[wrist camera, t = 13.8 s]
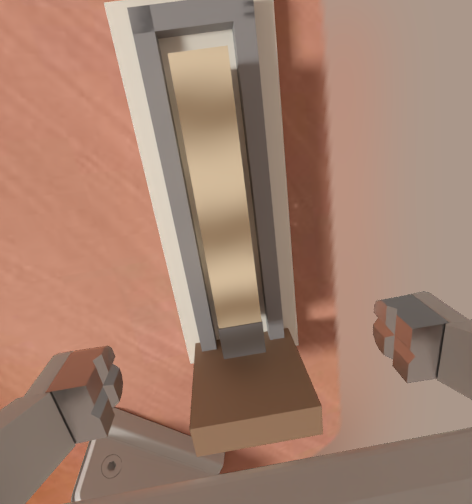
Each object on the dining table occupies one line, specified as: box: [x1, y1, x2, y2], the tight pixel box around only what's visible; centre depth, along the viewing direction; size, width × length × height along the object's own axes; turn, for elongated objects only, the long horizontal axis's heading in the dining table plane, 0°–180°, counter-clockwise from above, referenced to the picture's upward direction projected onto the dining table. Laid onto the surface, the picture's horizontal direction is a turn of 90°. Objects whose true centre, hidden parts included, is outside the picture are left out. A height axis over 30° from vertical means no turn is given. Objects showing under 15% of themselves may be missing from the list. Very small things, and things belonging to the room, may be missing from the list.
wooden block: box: [168, 45, 266, 359], centre depth 24 cm, size 22×4×6 cm, turn 8°
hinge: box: [71, 408, 225, 502], centre depth 34 cm, size 17×5×10 cm, turn 56°
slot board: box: [104, 0, 323, 457], centre depth 22 cm, size 32×12×11 cm, turn 8°
